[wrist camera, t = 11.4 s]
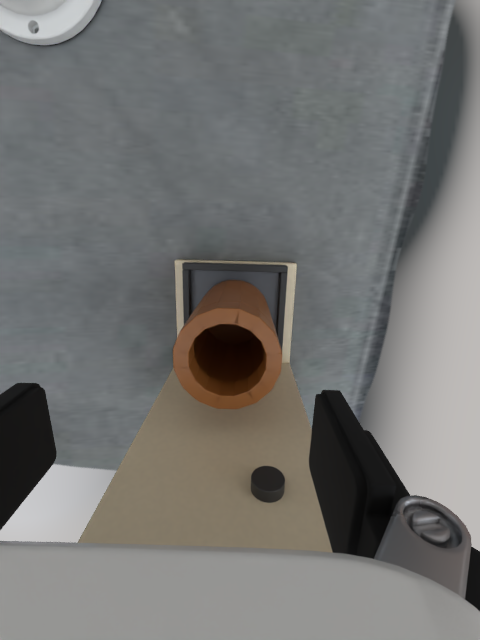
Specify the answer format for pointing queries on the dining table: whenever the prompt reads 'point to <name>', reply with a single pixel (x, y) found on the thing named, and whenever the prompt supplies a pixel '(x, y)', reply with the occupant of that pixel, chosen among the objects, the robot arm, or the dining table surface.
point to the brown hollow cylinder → (228, 348)
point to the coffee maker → (219, 449)
